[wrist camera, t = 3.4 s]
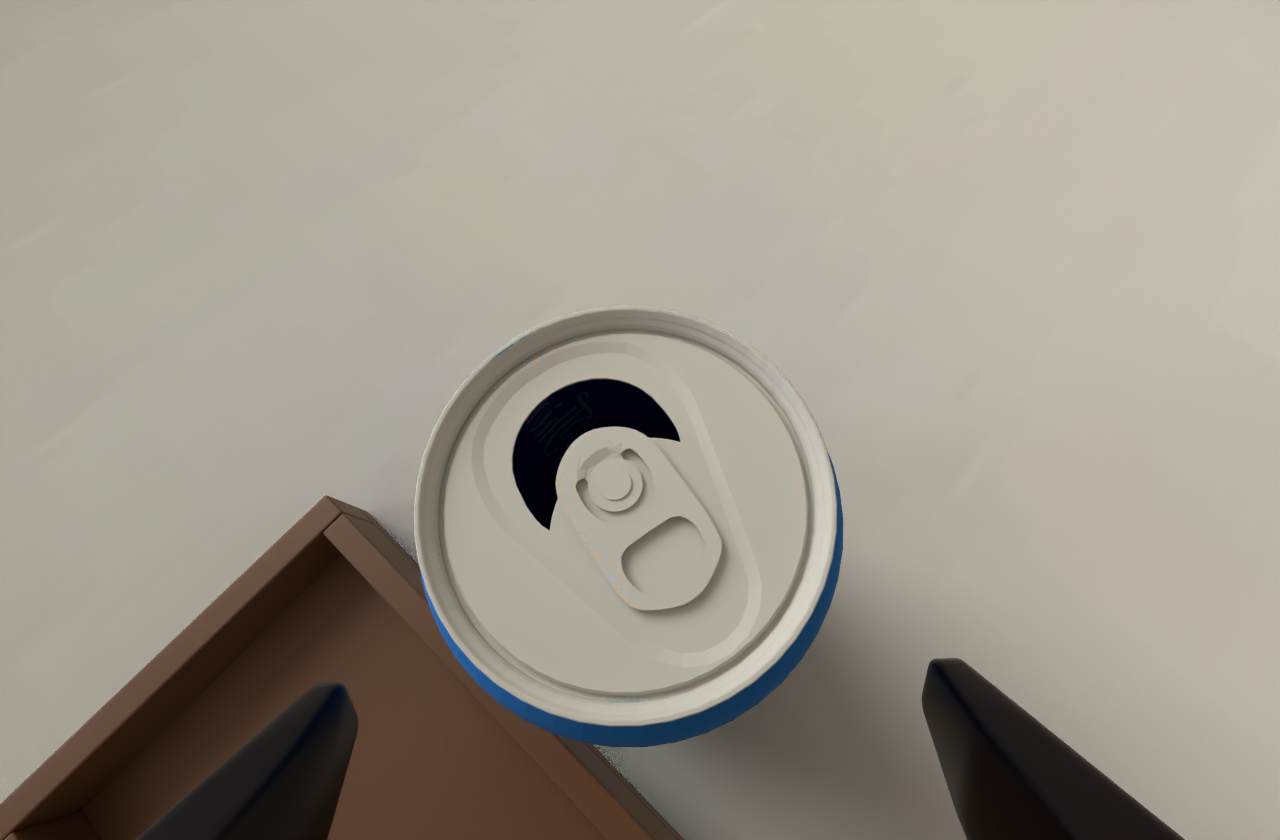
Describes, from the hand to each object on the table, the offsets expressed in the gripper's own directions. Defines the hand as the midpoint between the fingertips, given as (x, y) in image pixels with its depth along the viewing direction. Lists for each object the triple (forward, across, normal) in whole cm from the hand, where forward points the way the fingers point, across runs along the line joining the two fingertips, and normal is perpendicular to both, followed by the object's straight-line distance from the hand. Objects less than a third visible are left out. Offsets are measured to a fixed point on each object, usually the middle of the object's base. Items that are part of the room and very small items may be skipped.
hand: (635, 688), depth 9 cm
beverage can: (+9, 0, +5) cm, 10 cm away
